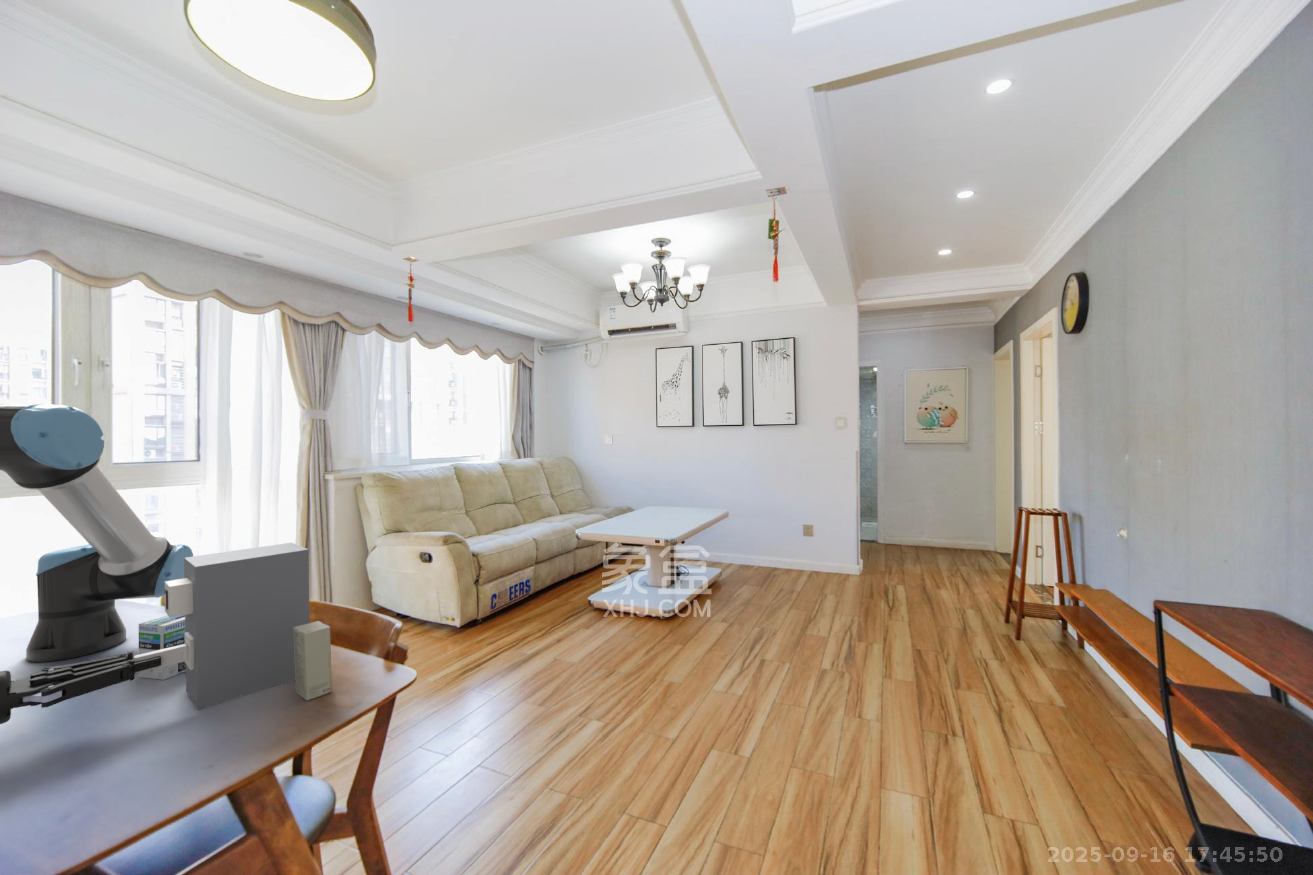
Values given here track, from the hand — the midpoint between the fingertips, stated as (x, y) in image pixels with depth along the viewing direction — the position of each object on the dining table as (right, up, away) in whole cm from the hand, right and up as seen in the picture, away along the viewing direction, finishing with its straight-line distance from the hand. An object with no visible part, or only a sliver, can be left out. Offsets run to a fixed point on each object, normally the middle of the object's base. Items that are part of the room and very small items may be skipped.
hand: (185, 652), depth 93 cm
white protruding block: (0, +7, +1) cm, 7 cm away
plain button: (+2, -3, +3) cm, 4 cm away
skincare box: (+21, -9, +3) cm, 23 cm away
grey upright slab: (+6, -9, +8) cm, 13 cm away
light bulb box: (-14, -9, +14) cm, 22 cm away
